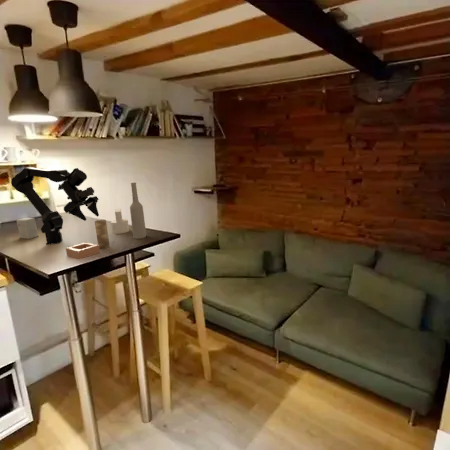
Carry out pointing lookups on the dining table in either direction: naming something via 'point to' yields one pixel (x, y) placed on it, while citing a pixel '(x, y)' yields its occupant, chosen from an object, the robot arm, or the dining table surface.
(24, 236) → the small box
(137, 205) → the bottle
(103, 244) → the peg
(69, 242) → the dining table surface
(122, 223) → the base with upright slab
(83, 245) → the socket
